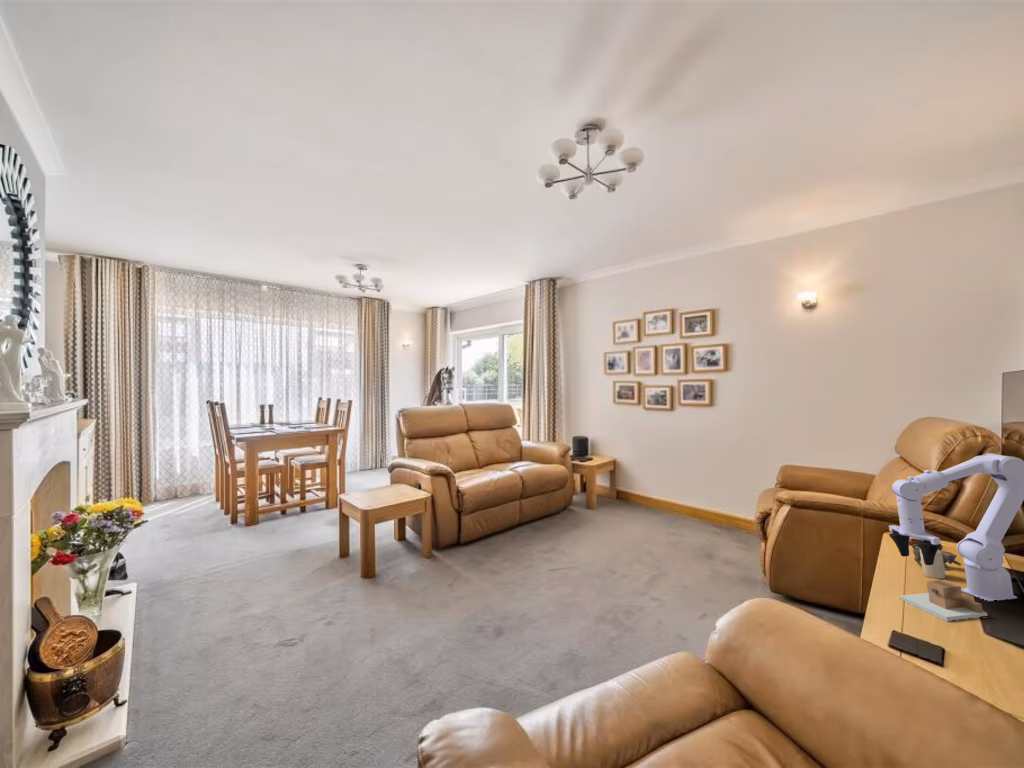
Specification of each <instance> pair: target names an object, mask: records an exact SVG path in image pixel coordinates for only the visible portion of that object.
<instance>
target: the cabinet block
mask: <svg viewBox="0 0 1024 768" xmlns="http://www.w3.org/2000/svg"><path fill="white" fill-rule="evenodd" d="M926 584H927V593H929V600H930V602H931V603H933V604H935V605H938V606H940V607H942V608H944V609H952V608H962V607H964V604H963V597H964V596H963V591H961V588H962V586H961V585H960V584H956V583H953V582H951V581H949V580H946V579H939V580H929V581H926ZM962 596H963V597H962Z"/></svg>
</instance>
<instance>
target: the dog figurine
mask: <svg viewBox="0 0 1024 768" xmlns="http://www.w3.org/2000/svg"><path fill="white" fill-rule="evenodd" d="M916 546H917V547H916ZM911 547H912V552H913V555H914V559H913V560H914V561H915V562H916V563H917V565H919V567H920V568H922V563H921V556H920V547H919V545H918V544H917V543H913V544H912V545H911ZM941 551H942V556H943V563H944V570H945V571H948V565H947V564H946V563H948V564H949V565H952V564H955V565H957V566H962V563H960V562H959V561H957V560H956V558H957V557H958V556H957V555H956V554H954V553H953V552H950V551H946V550H941Z"/></svg>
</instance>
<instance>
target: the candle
mask: <svg viewBox="0 0 1024 768" xmlns="http://www.w3.org/2000/svg"><path fill="white" fill-rule="evenodd" d="M942 551H943V550H940V548H939V549H938V551H937V552H936V555H935V558H934V563H933V565H925V563H924V560H923V555H922V551H921V549H920V556H921V561H920V563H921V564H922V567H921V568H922V574H923V575H924V577H928V578H930V579H932V578H933V579H939V580H945V578H946V570H944V563H943V556H942Z"/></svg>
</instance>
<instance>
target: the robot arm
mask: <svg viewBox="0 0 1024 768" xmlns="http://www.w3.org/2000/svg"><path fill="white" fill-rule="evenodd" d="M976 474H987V475H988V476H990V477H991V478H992V479H993V480H994V481H995V483H996V484H997V485H998V487H999V488H998V489H997V490H996V492H995V494H994V496H993V498H992V499H991V502H990V504H989V506H988V507H987V509H986V511H985V513H984V514H983V516H982V519H981V520H980V522H979V524H978V526H977V528H976V530H974V531H972V532H969V533H967V534H966V535H965V537H964V538H963V539H961V540H960V541H959V542H957V544H956V551H957V553H958V554H959V555H960V556H961V557H962V558H963V559H962V560H963V566H964V573H965V580H966V587H964V588H962V587H961V591H962V593H965V594H968V595H970V596H973V597H976V598H978V597H979V598H978V599H981V600H983V599H984V600H983V601H986V600H987V601H986V602H995V601H994V600H997V601H1006V599H1007V600H1014V599H1018V597H1017V596H1016V595H1014V590H1013V583H1012V579H1011V578H1012V577H1011V574H1010V573H1009V571H1008V570H1007V569H1006V568H1005V567H1003V564H1004V553H1005V551H1006V549H1005V546H1004V545H1003V544H1002V543H1003V542H1002V540H1003V538H1004V537H1005V534H1006V533H1007V531H1008V529H1009V528H1010V525H1012V522H1013V520H1014V518H1015V517H1016V514H1017V513H1018V511H1019V509H1020V507H1021V506H1022V504H1023V502H1024V460H1023V459H1021V458H1020V457H1016V456H1008V455H1001V454H997V453H994V452H988V453H984V454H982V455H976V456H974V457H972V458H971V459H968V460H966V461H964V462H961V463H959V464H956V465H953V466H951V467H948V468H946V469H943V470H941V471H938V470H934V469H932V470H930V469H926V470H923V473H921V474H917V475H914V476H911V475H910V476H908V477H907V479H902V478H901V479H897V480H895V481H894V482H893V483H892V487H890V491H891V492H892V493H893V494H894V495H895V496H896V498H895V499H896V505H897V511H898V512H897V513H898V519H899V525H895V524H891V525H888V530H889V531H888V532H891V533H889V537H890V538H891V539H892V541H893V543H894V544H895V545H896V547H897V549H898V552H899V554H900V556H901V557H909V556H910V538H912V539H913V538H914V539H917V540H920V541H918V542H916V544H918V545H919V546H918V547H920V549H921V551H922V555H923V560H924V563H925V565H933V563H934V558H935V555H936V552H937V551H938V549H939V550H940V547H941V546H942V545H941V544H942V543H941V540H940V537H939V536H938V537H937V536H935V535H933V534H930V533H928V532H927V531H926V530H925V529H926V528H925V523H924V522H925V521H924V517H923V509H922V503H921V499H922V498H923V497H924V495H926V494H929V493H932V492H935V491H937V490H941V489H945V488H946V487H948V485H949V482H951V481H954V480H958V479H962V478H965V477H969V476H971V475H976Z"/></svg>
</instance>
